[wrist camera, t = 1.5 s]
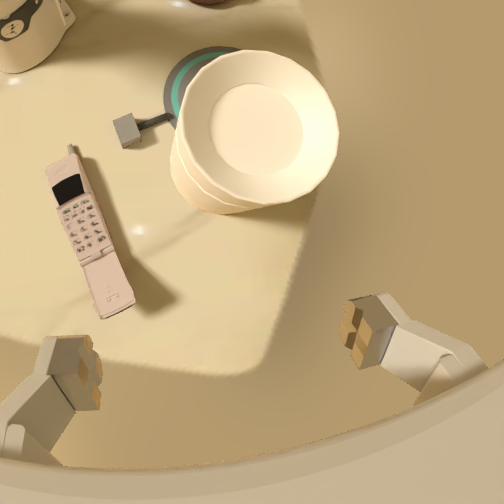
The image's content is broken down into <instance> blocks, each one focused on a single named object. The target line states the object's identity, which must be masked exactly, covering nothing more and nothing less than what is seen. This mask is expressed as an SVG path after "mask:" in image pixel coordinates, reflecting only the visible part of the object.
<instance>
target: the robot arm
mask: <svg viewBox="0 0 504 504" xmlns="http://www.w3.org/2000/svg"><path fill="white" fill-rule="evenodd" d="M67 15H68V16H67ZM75 20H76V17H75V15H74V13H73V12H72V10H71V9H70V7H69V6H68V4H67V3H66V1H65V0H0V70H1V71H3V72H5V73H19V72H23V71H26V70H28V69H30V68H32V67H34V66H36V65H37V64H39V63H40V62H42V61H43V60H44V59H45V58H47V57H48V56H49V55H50V54H51V53H52V52H53V51H54V49H55V48H56V47H57V45H58V44H59V42H60V41H61V39H62V37H63V35H64V33H65V31H66V30H67V29H68V28H69V27H70V26H71V25H72V24H73V23H74V22H75ZM343 310H344V312H345V313H346V315H345V316H344V317H343V318H342V319H341V321H340V326H339V329H340V336H341V339H342V342H343V343H344V345H345V346H346V347H347V348H349V349H351V350H352V352H351V357H352V359H353V361H354V362H355V364H356V366H357V368H358V369H359V370H360V369H364V368H368V367H371V366H375V365H379V364H381V366H382V367H384V368H385V369H387V370H388V371H390V372H391V373H393V374H394V375H396V376H397V377H398V378H400V379H401V380H403V381H404V382H406V383H407V384H409V385H410V386H412V387H413V388H415V389H416V390H418V391H419V392H421V393H420V394H419V396H418V397H417V399H416V400H415V402H414V407H411V408H409V409H407V410H404V411H402V412H399V413H397V414H394V415H392V416H390V417H387V418H384V419H382V420H379V421H376V422H374V423H371V424H368V425H365V426H362V427H359V428H356V429H353V430H351V431H347V432H344V433H341V434H338V435H335V436H331V437H328V438H325V439H321V440H318V441H314V442H310V443H307V444H303V445H299V446H295V447H291V448H287V449H282V450H278V451H274V452H268V453H264V454H259V455H254V456H249V457H243V458H237V459H231V460H224V461H218V462H210V463H202V464H193V465H182V466H171V467H155V468H127V469H126V468H123V469H122V468H121V469H120V468H118V469H117V468H83V467H67V466H62V464H61V463H60V461H59V460H57V459H56V458H55V457H54V456H53V455H52V454H51V453H50V451H51V450H52V448H53V446H54V445H55V443H56V442H57V440H58V439H59V437H60V436H61V434H62V433H63V431H64V430H65V428H66V426H67V425H68V423H69V422H70V420H71V419H72V417H73V416H74V414H75V413H76V412H75V411H89V410H99V409H100V397H101V392H100V391H99V389H98V386H99V385H100V383H101V382H102V376H103V373H102V364H101V360H100V358H99V355H98V353H96V352H95V351H94V350H92V347H93V342H92V340H91V338H90V336H88V335H69V336H46V337H45V338H44V339H43V342H42V345H41V348H40V351H39V355H38V358H37V361H36V364H35V368H34V371H33V375H29V376H28V377H27V378H26V379H25V380H24V381H23V382H22V383H21V384H20V385H19V386H18V387H17V388H16V389H15V390H14V391H13V392H12V393H11V394H10V395H9V396H8V397H7V398H6V399H5V400H4V401H3V402H2V403H1V404H0V504H504V359H503V360H502V361H500V362H499V363H497V364H495V365H494V366H492V367H490V368H488V367H487V366H486V365H485V363H484V362H483V361H482V360H481V358H480V357H479V356H478V355H477V354H476V352H475V351H474V350H473V349H472V348H471V346H470V345H468V344H466V343H464V342H462V341H459V340H457V339H455V338H453V337H451V336H448V335H447V334H444V333H442V332H440V331H438V330H436V329H433V328H431V327H429V326H427V325H424V324H423V323H420V322H418V321H416V320H414V321H411V320H410V318H409V317H408V316H407V314H406V313H405V312H404V311H403V310H402V308H401V307H400V306H399V305H398V304H397V303H396V302H395V300H394V299H393V298H392V297H391V295H390V294H389V293H387V292H382V293H378V294H373V295H370V296H365V297H360V298H356V299H351V300H347V301H346V302H345V304H344V308H343Z"/></svg>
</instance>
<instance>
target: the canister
mask: <svg viewBox="0 0 504 504" xmlns="http://www.w3.org/2000/svg"><path fill="white" fill-rule="evenodd" d="M339 137H340V130H339V125H338V118H337V113H336V110H335V107H334V105H333V103H332V101H331V99H330V97H329V95H328V93H327V91H326V89H325V88H324V87H323V86H322V85H321V84H320V82H319V81H318V80H317V79H316V78H315V77H314V76H313V74H312V73H311V72H309V71H308V70H307V69H305V68H304V67H302V66H301V65H299V64H298V63H296V62H295V61H293V60H292V59H290V58H287V57H284V56H281V55H278V54H275V53H272V52H269V51H259V50H241V51H237V52H233V53H229V54H225V55H221V56H220V57H218V58H216V59H215V60H213V61H212V62H210V63H209V64H207V65H206V66H204V67H202V68H201V69H200V71H199V72H198V73H197V74H196V76H195V77H194V78H193V80H192V81H191V82H190V84H189V85H188V86H187V88H186V91H185V95H184V98H183V102H182V105H181V109H180V112H179V117H178V121H177V127H176V131H175V135H174V140H173V145H172V150H171V155H170V167H171V176H172V178H173V180H174V182H175V185H176V187H177V189H178V191H179V192H180V193H181V194H182V195H183V197H184V198H185V199H186V200H187V201H188V202H189V203H190V204H192V205H194V206H196V207H197V208H199V209H201V210H203V211H205V212H210V213H215V214H219V215H222V214H231V213H238V212H243V211H248V210H253V209H257V208H262V207H267V206H270V205H277V204H282V203H287V202H290V201H292V200H295V199H297V198H299V197H301V196H303V195H306V194H308V193H310V192H312V191H313V190H314V189H315V188H316V187H317V186H318V185H319V184H320V183H321V182H322V181H323V180H324V179H325V178H326V177H327V176H328V174H329V171H330V170H331V167H332V165H333V163H334V161H335V159H336V157H337V153H338V146H339Z"/></svg>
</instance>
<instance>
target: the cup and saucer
mask: <svg viewBox="0 0 504 504" xmlns="http://www.w3.org/2000/svg"><path fill="white" fill-rule="evenodd" d="M190 1H193V2H197V3H202V4H215V3H221V2H224V1H226V0H190Z"/></svg>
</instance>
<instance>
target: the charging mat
mask: <svg viewBox="0 0 504 504" xmlns="http://www.w3.org/2000/svg"><path fill="white" fill-rule="evenodd" d="M237 51H241V50H240V49H236V48H231V47H210V48H205V49H202V50H199V51H196V52H194V53H192V54H190V55H188V56H187V57H185V58H184V59H182V60H181V61H180V62H179V63H178V64H177V65H176V66H175V67H174V68H173V70H172V71H171V73H170V74H169V77H168V79H167V81H166V84H165V88H164V106H165V111H166V113H165V114H162V115H160V116H157V117H155V118H152V119H150V120H147V121H145V122H142V123H140V124H138V125H136V122H135V120H134V117H133V115H132V113H130V114H127V115H125V116H123V117H120V118H118V119H116V120H113V123H114V126H115V129H116V131H117V134H118V137H119V139H120V142H121V145H122V147H123V148H126V147H128V146H130V145H132V144H135V143H137V142H139V141H141V135H140V132H139V131H140V130H142V129H145V128H147V127H149V126H152V125H154V124H157V123H159V122H162V121H164V120H167V119H169V121H170V123H171V125H172V126H173V127H174V129H175V130H176V127H177V121H178V117H179V112H180V109H181V105H182V102H183V98H184V95H185V91H186V88H187V86H188V85H189V84H190V82H191V81H192V80H193V78H194V77H195V76H196V74H197V73H198V72H199V71H200V69H201V68H202V67H204V66H206V65H207V64H209V63H210V62H212V61H213V60H215V59H216V58H218V57H220V56H221V55H225V54H229V53H233V52H237Z"/></svg>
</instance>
